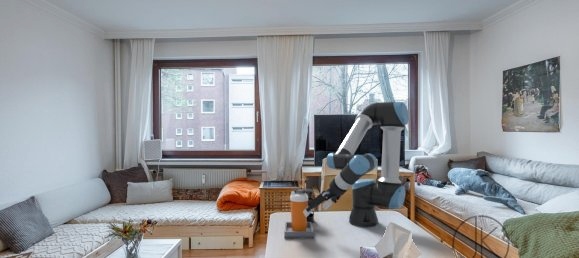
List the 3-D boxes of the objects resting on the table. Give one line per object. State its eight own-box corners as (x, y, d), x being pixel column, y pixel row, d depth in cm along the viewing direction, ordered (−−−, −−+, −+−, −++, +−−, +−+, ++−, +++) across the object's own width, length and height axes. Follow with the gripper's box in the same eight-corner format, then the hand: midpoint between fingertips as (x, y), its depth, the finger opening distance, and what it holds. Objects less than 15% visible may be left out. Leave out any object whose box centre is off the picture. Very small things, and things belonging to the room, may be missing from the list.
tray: (311, 227, 153) (311, 221, 153) (313, 238, 139) (313, 231, 139) (285, 227, 153) (284, 221, 153) (284, 238, 139) (284, 231, 139)
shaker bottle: (306, 235, 141) (306, 193, 140) (288, 233, 143) (288, 192, 142) (309, 228, 149) (309, 189, 149) (292, 227, 151) (291, 188, 151)
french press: (316, 223, 159) (316, 180, 158) (298, 224, 157) (298, 181, 157) (311, 216, 170) (311, 176, 170) (295, 217, 169) (295, 177, 168)
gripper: (328, 196, 117) (300, 224, 128) (362, 186, 134) (335, 211, 145) (317, 180, 120) (291, 209, 131) (352, 173, 138) (326, 199, 149)
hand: (314, 211), depth 138 cm, fingers open, 13 cm apart
